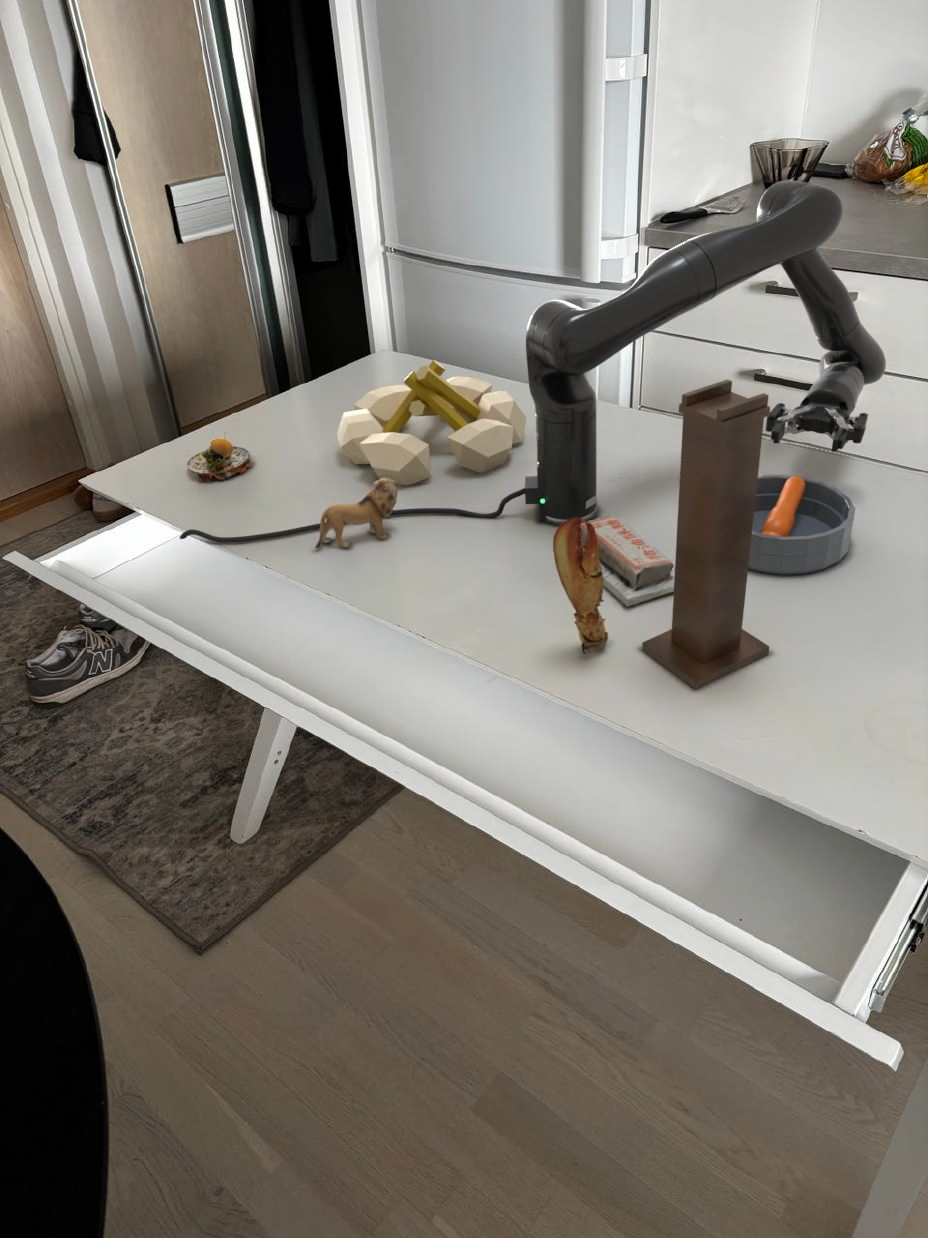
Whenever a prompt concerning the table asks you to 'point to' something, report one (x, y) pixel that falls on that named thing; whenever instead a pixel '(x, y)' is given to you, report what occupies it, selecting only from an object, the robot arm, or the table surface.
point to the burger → (219, 460)
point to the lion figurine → (360, 512)
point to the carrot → (785, 509)
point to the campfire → (428, 394)
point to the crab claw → (581, 579)
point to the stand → (713, 536)
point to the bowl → (801, 528)
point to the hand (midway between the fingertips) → (805, 441)
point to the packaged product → (630, 562)
